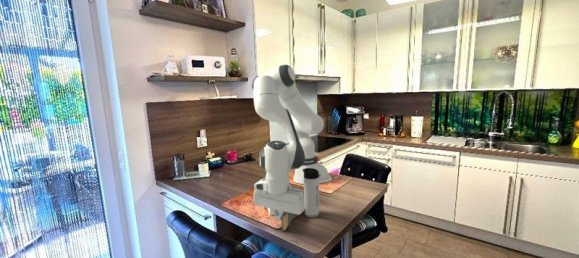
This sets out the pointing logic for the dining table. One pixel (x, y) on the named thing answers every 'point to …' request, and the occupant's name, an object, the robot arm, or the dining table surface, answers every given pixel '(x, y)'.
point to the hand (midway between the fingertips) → (278, 219)
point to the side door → (286, 219)
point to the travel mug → (311, 192)
